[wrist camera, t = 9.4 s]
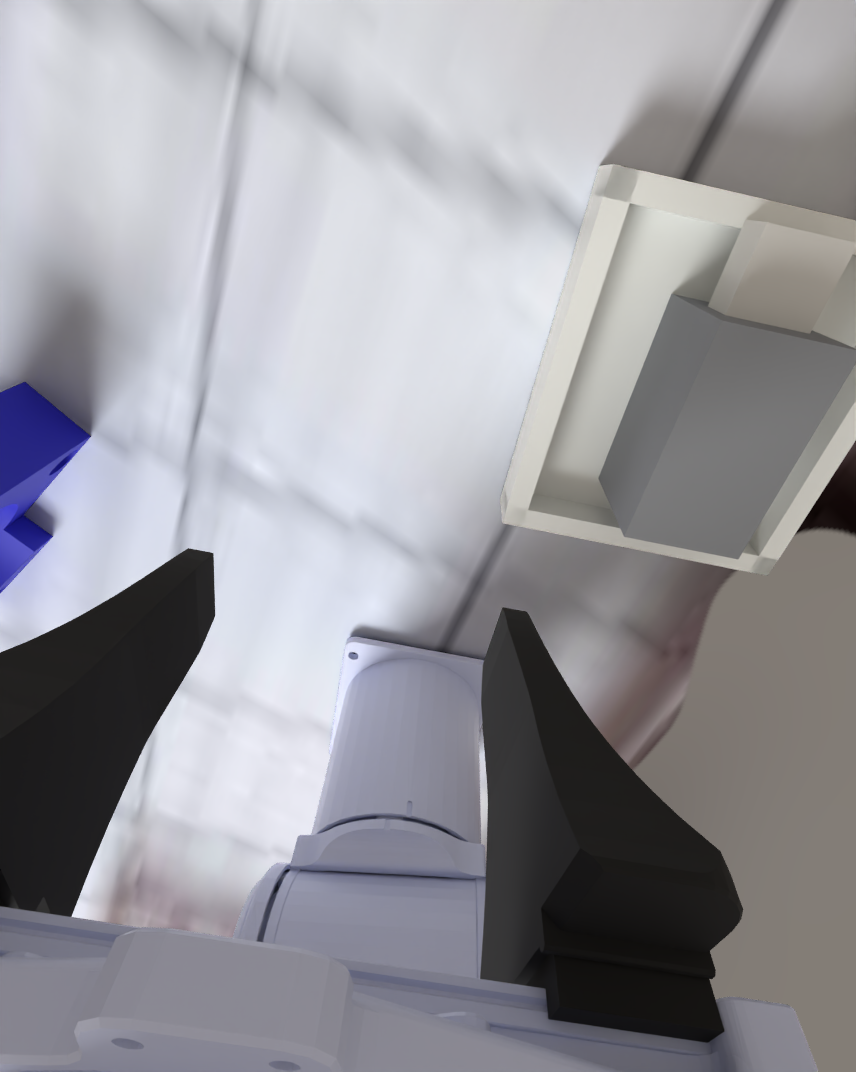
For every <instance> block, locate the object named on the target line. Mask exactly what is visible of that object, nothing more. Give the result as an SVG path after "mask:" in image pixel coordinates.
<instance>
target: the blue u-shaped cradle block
mask: <svg viewBox="0 0 856 1072" xmlns="http://www.w3.org/2000/svg"><path fill="white" fill-rule="evenodd" d="M90 437H91V436H90V435H89V434H87V433H86V432H85V431H84V430H83V429H81V428H80V427H79V426H78V425H77V424H75V423H74V422H73V421H72V420H70V419H69V418H68V417H67V416H66V415H64V414H63V413H62V412H61V411H60V410H58V409H57V408H56V407H55V406H53V405H52V404H51V403H50V402H49V401H47V400H46V399H45V398H44V397H43V396H41V395H40V394H39V393H38V392H37V391H35V390H34V389H33V388H32V387H30V386H29V385H28V384H27V383H26V382H23V383H21V384H19V385H16V386H14V387H12V388H10V389H7V390H5V391H3V392H1V393H0V593H1V592H2V591H3V590H4V589H5V588H6V587H7V586H8V585H9V584H10V583H11V581H12V580H13V579H14V578H15V577H16V576H17V575H18V574H19V573H20V572H21V571H22V569H23V568H24V567H25V566H26V565H27V564H28V563H29V562H30V561H31V560H32V559H33V558H34V556H35V555H36V554H37V553H38V552H39V551H40V550H41V549H42V548H43V547H44V546H45V544H46V543H47V542H48V541H49V540H50V539H51V538H52V537H53V536H51V535H50V534H49V533H47V532H46V531H44V530H43V529H42V528H40V527H39V526H38V525H36V524H35V523H34V522H32V521H31V520H29V519H28V518H27V517H25V516H24V514H25V513H26V511H27V510H28V509H29V508H30V507H31V506H32V504H33V503H34V502H35V501H36V500H37V499H38V497H39V496H40V495H41V494H42V493H43V492H44V490H45V489H46V488H47V487H48V486H49V485H50V483H51V482H52V481H53V480H54V479H55V478H56V476H57V475H58V474H59V473H60V472H61V471H62V469H63V468H64V467H65V466H66V465H67V464H68V462H69V461H70V460H71V459H72V458H73V457H74V455H75V454H76V453H77V452H78V451H79V450H80V448H81V447H82V446H83V445H84V444H85V443H86V441H87V440H88V439H89V438H90Z"/></svg>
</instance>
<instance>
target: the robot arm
mask: <svg viewBox="0 0 856 1072" xmlns="http://www.w3.org/2000/svg"><path fill="white" fill-rule="evenodd" d="M214 617H215V594H214V560H213V553H210V552H205V551H199V550H194V549H189V548H188V549H187V550H185V551H183V552H182V553H180V554H179V555H177V556H176V557H174V558H173V559H171V560H169V561H168V562H166V563H165V564H163V565H162V566H160V567H159V568H157V569H156V570H154V571H153V572H151V573H150V574H148V575H147V576H145V577H144V578H142V579H141V580H139V581H138V582H136V583H134V584H133V585H131V586H130V587H128V588H127V589H125V590H123V591H122V592H120V593H119V594H117V595H115V596H114V597H112V598H110V599H109V600H107V601H105V602H103V603H102V604H100V605H98V606H96V607H95V608H93V609H91V610H90V611H88V612H86V613H84V614H83V615H81V616H79V617H77V618H75V619H73V620H71V621H69V622H67V623H66V624H64V625H62V626H60V627H58V628H55V629H53V630H51V631H49V632H47V633H45V634H43V635H41V636H39V637H36V638H34V639H32V640H30V641H28V642H25V643H23V644H20V645H18V646H15V647H13V648H11V649H8V650H6V651H3V652H1V653H0V1072H819V1071H818V1068H817V1066H816V1063H815V1061H814V1058H813V1056H812V1053H811V1050H810V1048H809V1045H808V1043H807V1040H806V1038H805V1035H804V1032H803V1030H802V1027H801V1025H800V1022H799V1020H798V1017H797V1015H796V1012H795V1010H794V1009H793V1008H792V1007H791V1006H789V1005H786V1004H780V1003H773V1002H767V1001H760V1000H753V999H747V998H740V997H724V998H719V999H716V1000H715V997H714V994H713V990H712V987H711V984H710V980H709V979H713V977H715V967H714V964H713V961H712V958H711V954H710V950H711V949H712V948H713V947H715V945H717V944H718V943H719V942H720V941H721V940H722V939H723V938H725V937H726V936H727V935H728V934H729V933H730V932H732V930H733V929H734V928H735V926H737V924H738V923H739V921H740V920H741V917H742V912H743V908H742V905H741V903H740V900H739V897H738V894H737V891H736V888H735V885H734V882H733V880H732V877H731V874H730V872H729V870H728V867H727V865H726V863H725V861H724V858H723V856H722V854H721V852H720V851H719V850H718V849H717V848H716V847H715V846H714V845H712V844H711V843H710V842H709V841H708V840H706V839H705V838H704V837H703V836H702V835H700V834H699V833H698V832H697V831H696V830H694V829H693V828H692V827H691V826H690V825H688V824H687V823H686V822H685V821H684V820H683V819H682V818H680V817H679V816H678V815H677V814H676V813H675V812H674V811H673V810H672V809H671V808H670V807H669V806H667V804H665V803H664V802H663V801H662V800H661V799H660V798H659V797H658V796H657V795H656V794H655V793H654V792H653V791H652V790H651V789H650V788H649V787H648V786H647V785H646V784H645V783H644V782H643V781H642V780H641V779H640V778H639V777H638V776H637V775H636V774H635V772H634V771H633V770H632V769H631V768H630V767H629V766H628V765H627V764H626V763H625V762H624V760H623V759H622V758H621V757H620V756H619V755H618V754H617V753H616V751H615V750H614V749H613V748H612V747H611V745H610V744H609V743H608V742H607V741H606V739H605V738H604V737H603V735H602V734H601V733H600V732H599V730H598V729H597V728H596V727H595V725H594V724H593V723H592V721H591V720H590V719H589V717H588V716H587V714H586V713H585V712H584V710H583V709H582V707H581V706H580V704H579V703H578V701H577V700H576V698H575V697H574V695H573V694H572V692H571V690H570V689H569V687H568V686H567V684H566V682H565V681H564V679H563V677H562V676H561V674H560V672H559V671H558V669H557V667H556V665H555V664H554V662H553V660H552V658H551V657H550V655H549V653H548V651H547V649H546V647H545V646H544V644H543V642H542V640H541V638H540V636H539V634H538V632H537V630H536V628H535V626H534V624H533V622H532V620H531V618H530V616H529V615H528V613H527V612H525V611H519V610H514V609H509V608H502V611H501V614H500V617H499V619H498V622H497V625H496V628H495V631H494V634H493V637H492V640H491V642H490V645H489V648H488V651H487V654H486V657H485V660H480V659H474V658H469V657H463V656H458V655H453V654H447V653H442V652H436V651H431V650H426V649H420V648H415V647H409V646H404V645H399V644H393V643H388V642H382V641H377V640H372V639H366V638H361V637H350V638H348V639H347V641H346V644H345V649H344V655H343V662H342V668H341V675H340V682H339V688H338V695H337V701H336V708H335V715H334V721H333V728H332V734H331V741H330V748H329V754H330V759H329V763H328V767H327V771H326V776H325V780H324V784H323V788H322V792H321V796H320V800H319V805H318V809H317V813H316V817H315V821H314V825H313V829H312V833H311V835H300V836H298V838H297V842H296V846H295V849H294V853H293V857H292V861H291V863H276V864H275V865H273V866H272V867H271V868H270V869H269V870H268V871H267V872H266V874H265V875H264V877H263V878H262V879H261V880H260V881H259V882H258V883H257V884H256V885H255V886H254V887H253V889H252V890H251V892H250V894H249V896H248V898H247V900H246V902H245V904H244V906H243V909H242V911H241V914H240V916H239V919H238V922H237V925H236V928H235V931H234V935H233V938H231V937H224V936H217V935H211V934H204V933H198V932H191V931H184V930H178V929H171V928H148V927H142V928H140V927H133V926H127V925H120V924H113V923H107V922H100V921H94V920H87V919H80V918H74V917H71V916H72V913H73V911H74V908H75V906H76V903H77V901H78V898H79V896H80V893H81V890H82V888H83V885H84V883H85V880H86V878H87V875H88V873H89V870H90V868H91V865H92V863H93V860H94V858H95V856H96V853H97V851H98V849H99V846H100V844H101V841H102V839H103V837H104V834H105V832H106V829H107V827H108V825H109V822H110V820H111V818H112V816H113V813H114V811H115V809H116V807H117V804H118V802H119V800H120V798H121V795H122V793H123V791H124V789H125V786H126V784H127V782H128V780H129V778H130V775H131V773H132V771H133V769H134V767H135V765H136V763H137V761H138V758H139V756H140V754H141V752H142V750H143V748H144V746H145V744H146V742H147V740H148V738H149V736H150V735H151V733H152V731H153V729H154V727H155V726H156V724H157V722H158V721H159V719H160V717H161V716H162V714H163V712H164V711H165V709H166V707H167V706H168V704H169V702H170V701H171V699H172V697H173V696H174V694H175V692H176V691H177V689H178V687H179V686H180V684H181V683H182V681H183V679H184V678H185V676H186V674H187V672H188V671H189V669H190V667H191V666H192V664H193V662H194V661H195V659H196V657H197V655H198V654H199V652H200V650H201V648H202V645H203V643H204V641H205V639H206V636H207V634H208V632H209V629H210V627H211V624H212V622H213V620H214ZM351 652H355V653H357V654H352V653H351ZM482 723H483V736H484V748H485V761H486V774H487V789H488V827H487V861H486V859H485V846H484V845H483V844H481V816H480V764H479V731H480V729H481V726H482Z"/></svg>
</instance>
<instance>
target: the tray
mask: <svg viewBox="0 0 856 1072" xmlns="http://www.w3.org/2000/svg"><path fill="white" fill-rule="evenodd" d="M745 220H753V221H761V222H768V223H772V224H777V225H781V226H785V227H790V228H794V229H798V230H803V231H807V232H812V233H816V234H820V235H825V236H829V237H833V238H838V239H842V240H846V241H851V242H855V243H856V220H852V219H848V218H843V217H839V216H835V215H831V214H826V213H822V212H818V211H813V210H809V209H805V208H801V207H796V206H792V205H788V204H783V203H779V202H775V201H770V200H766V199H762V198H758V197H753V196H749V195H745V194H740V193H736V192H732V191H728V190H723V189H719V188H715V187H710V186H706V185H702V184H697V183H693V182H689V181H685V180H680V179H676V178H672V177H667V176H663V175H659V174H655V173H650V172H646V171H642V170H637V169H633V168H629V167H624V166H620V165H616V164H609V165H602V166H599V168H598V172H597V175H596V178H595V182H594V185H593V188H592V192H591V195H590V199H589V202H588V205H587V209H586V212H585V215H584V219H583V222H582V225H581V229H580V232H579V235H578V239H577V242H576V246H575V249H574V252H573V256H572V259H571V262H570V266H569V269H568V272H567V276H566V279H565V282H564V286H563V289H562V293H561V296H560V299H559V303H558V306H557V309H556V313H555V316H554V319H553V323H552V326H551V329H550V333H549V336H548V340H547V343H546V346H545V350H544V353H543V356H542V360H541V363H540V366H539V370H538V373H537V376H536V380H535V383H534V387H533V390H532V393H531V397H530V400H529V403H528V407H527V410H526V413H525V417H524V420H523V423H522V427H521V430H520V434H519V437H518V440H517V444H516V447H515V450H514V454H513V457H512V460H511V464H510V467H509V470H508V474H507V477H506V481H505V484H504V487H503V491H502V494H501V497H500V505H501V515H502V523H503V524H508V525H513V526H519V527H524V528H529V529H534V530H539V531H544V532H549V533H554V534H559V535H564V536H569V537H574V538H579V539H584V540H589V541H594V542H599V543H604V544H609V545H615V546H620V547H625V548H630V549H635V550H640V551H645V552H650V553H655V554H660V555H665V556H670V557H675V558H680V559H685V560H690V561H695V562H700V563H705V564H710V565H716V566H721V567H726V568H731V569H736V570H741V571H746V572H751V573H756V574H761V575H766V576H768V575H769V573H770V572H771V570H772V568H773V567H774V566H775V564H776V563H777V561H778V559H779V558H780V556H781V555H782V553H783V552H784V550H785V549H786V547H787V545H788V544H789V542H790V541H791V539H792V538H793V536H794V535H795V533H796V532H797V530H798V529H799V527H800V525H801V524H802V522H803V521H804V519H805V518H806V516H807V515H808V513H809V512H810V510H811V509H812V507H813V505H814V504H815V502H816V501H817V499H818V498H819V496H820V495H821V493H822V492H823V490H824V488H825V487H826V485H827V484H828V482H829V481H830V479H831V478H832V476H833V475H834V473H835V471H836V470H837V468H838V467H839V465H840V464H841V462H842V461H843V459H844V458H845V456H846V454H847V453H848V451H849V450H850V448H851V447H852V445H853V444H854V442H855V441H856V364H855V366H854V367H853V369H852V371H851V372H850V374H849V376H848V377H847V379H846V381H845V382H844V384H843V386H842V387H841V389H840V391H839V392H838V394H837V396H836V397H835V399H834V401H833V402H832V404H831V406H830V407H829V409H828V411H827V412H826V414H825V416H824V417H823V419H822V421H821V422H820V424H819V426H818V427H817V429H816V431H815V432H814V434H813V436H812V437H811V439H810V441H809V442H808V444H807V446H806V447H805V449H804V451H803V452H802V454H801V456H800V457H799V459H798V461H797V462H796V464H795V466H794V467H793V469H792V471H791V472H790V474H789V476H788V477H787V479H786V481H785V482H784V484H783V486H782V487H781V489H780V491H779V492H778V494H777V496H776V497H775V499H774V501H773V502H772V504H771V506H770V507H769V509H768V511H767V512H766V514H765V516H764V517H763V519H762V521H761V522H760V524H759V526H758V527H757V529H756V531H755V532H754V534H753V536H752V537H751V539H750V541H749V542H748V544H747V546H746V547H745V549H744V551H743V553H742V554H741V556H740V558H739V559H733V558H728V557H723V556H718V555H713V554H708V553H703V552H698V551H693V550H688V549H683V548H678V547H673V546H668V545H663V544H658V543H653V542H648V541H643V540H638V539H633V538H628V537H624V536H623V533H622V531H621V529H620V526H619V524H618V522H617V520H616V517H615V515H614V513H613V511H612V508H611V506H610V504H609V502H608V499H607V497H606V495H605V493H604V490H603V488H602V486H601V484H600V481H599V479H598V478H599V475H600V473H601V470H602V468H603V465H604V463H605V460H606V457H607V455H608V452H609V450H610V447H611V445H612V442H613V440H614V437H615V435H616V432H617V430H618V427H619V425H620V422H621V420H622V417H623V415H624V412H625V410H626V407H627V405H628V402H629V399H630V397H631V394H632V392H633V389H634V387H635V384H636V382H637V379H638V377H639V374H640V372H641V369H642V367H643V364H644V362H645V359H646V357H647V354H648V352H649V349H650V346H651V344H652V341H653V339H654V336H655V334H656V331H657V329H658V326H659V324H660V321H661V319H662V316H663V314H664V311H665V309H666V306H667V304H668V301H669V299H670V296H671V294H675V295H680V296H684V297H689V298H693V299H698V300H702V301H707V302H710V300H711V298H712V295H713V293H714V291H715V288H716V286H717V284H718V282H719V279H720V277H721V275H722V272H723V270H724V268H725V265H726V263H727V261H728V258H729V256H730V254H731V252H732V249H733V247H734V245H735V242H736V240H737V238H738V235H739V233H740V231H741V229H742V226H743V224H744V222H745ZM812 330H813V331H815V332H818V333H820V334H822V335H825V336H827V337H829V338H832V339H834V340H836V341H839V342H841V343H844V344H846V345H848V346H851V347H853V348H855V349H856V249H855V251H854V253H853V255H852V257H851V259H850V260H849V262H848V264H847V266H846V268H845V270H844V272H843V273H842V275H841V277H840V279H839V281H838V283H837V285H836V286H835V288H834V290H833V292H832V294H831V296H830V298H829V299H828V301H827V303H826V305H825V307H824V309H823V310H822V312H821V314H820V316H819V318H818V320H817V322H816V323H815V325H814V327H813V329H812Z"/></svg>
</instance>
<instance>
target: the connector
mask: <svg viewBox="0 0 856 1072" xmlns="http://www.w3.org/2000/svg"><path fill="white" fill-rule="evenodd" d="M855 249H856V243H855V242H851V241H846V240H842V239H838V238H833V237H829V236H825V235H820V234H816V233H812V232H807V231H803V230H798V229H794V228H790V227H785V226H781V225H777V224H772V223H768V222H761V221H753V220H745V222H744V224H743V226H742V229H741V231H740V233H739V235H738V238H737V240H736V242H735V245H734V247H733V249H732V252H731V254H730V256H729V258H728V261H727V263H726V265H725V268H724V270H723V272H722V275H721V277H720V279H719V282H718V284H717V286H716V288H715V291H714V293H713V295H712V298H711V300H710V302H707V301H702V300H698V299H693V298H689V297H684V296H680V295H675V294H671V296H670V299H669V301H668V304H667V306H666V309H665V311H664V314H663V316H662V319H661V321H660V324H659V326H658V329H657V331H656V334H655V336H654V339H653V341H652V344H651V346H650V349H649V352H648V354H647V357H646V359H645V362H644V364H643V367H642V369H641V372H640V374H639V377H638V379H637V382H636V384H635V387H634V389H633V392H632V394H631V397H630V399H629V402H628V405H627V407H626V410H625V412H624V415H623V417H622V420H621V422H620V425H619V427H618V430H617V432H616V435H615V437H614V440H613V442H612V445H611V447H610V450H609V452H608V455H607V457H606V460H605V463H604V465H603V468H602V470H601V473H600V475H599V478H598V479H599V481H600V484H601V486H602V488H603V490H604V493H605V495H606V497H607V499H608V502H609V504H610V506H611V508H612V511H613V513H614V515H615V517H616V520H617V522H618V524H619V526H620V529H621V531H622V533H623V536H624V537H628V538H633V539H638V540H643V541H648V542H653V543H658V544H663V545H668V546H673V547H678V548H683V549H688V550H693V551H698V552H703V553H708V554H713V555H718V556H723V557H728V558H733V559H739V558H740V556H741V554H742V553H743V551H744V549H745V547H746V546H747V544H748V542H749V541H750V539H751V537H752V536H753V534H754V532H755V531H756V529H757V527H758V526H759V524H760V522H761V521H762V519H763V517H764V516H765V514H766V512H767V511H768V509H769V507H770V506H771V504H772V502H773V501H774V499H775V497H776V496H777V494H778V492H779V491H780V489H781V487H782V486H783V484H784V482H785V481H786V479H787V477H788V476H789V474H790V472H791V471H792V469H793V467H794V466H795V464H796V462H797V461H798V459H799V457H800V456H801V454H802V452H803V451H804V449H805V447H806V446H807V444H808V442H809V441H810V439H811V437H812V436H813V434H814V432H815V431H816V429H817V427H818V426H819V424H820V422H821V421H822V419H823V417H824V416H825V414H826V412H827V411H828V409H829V407H830V406H831V404H832V402H833V401H834V399H835V397H836V396H837V394H838V392H839V391H840V389H841V387H842V386H843V384H844V382H845V381H846V379H847V377H848V376H849V374H850V372H851V371H852V369H853V367H854V366H855V364H856V349H855V348H853V347H851V346H848V345H846V344H844V343H841V342H839V341H836V340H834V339H832V338H829V337H827V336H825V335H822V334H820V333H818V332H815V331H813V330H812V329H813V327H814V325H815V323H816V322H817V320H818V318H819V316H820V314H821V312H822V310H823V309H824V307H825V305H826V303H827V301H828V299H829V298H830V296H831V294H832V292H833V290H834V288H835V286H836V285H837V283H838V281H839V279H840V277H841V275H842V273H843V272H844V270H845V268H846V266H847V264H848V262H849V260H850V259H851V257H852V255H853V253H854V251H855Z"/></svg>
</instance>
